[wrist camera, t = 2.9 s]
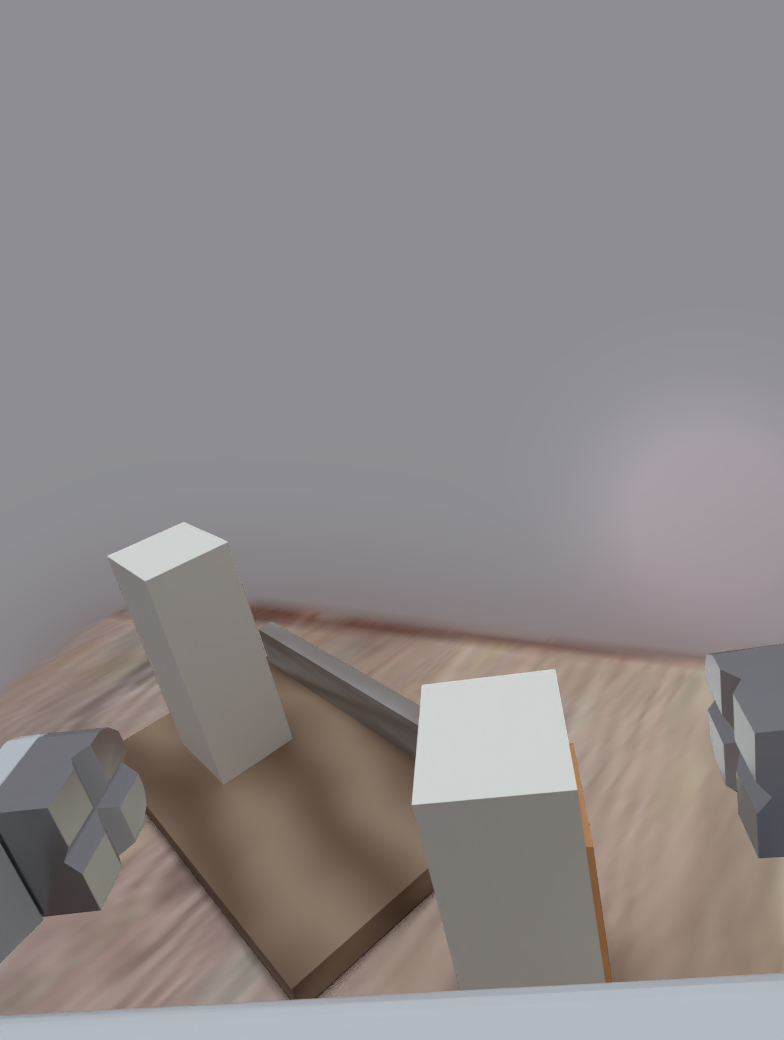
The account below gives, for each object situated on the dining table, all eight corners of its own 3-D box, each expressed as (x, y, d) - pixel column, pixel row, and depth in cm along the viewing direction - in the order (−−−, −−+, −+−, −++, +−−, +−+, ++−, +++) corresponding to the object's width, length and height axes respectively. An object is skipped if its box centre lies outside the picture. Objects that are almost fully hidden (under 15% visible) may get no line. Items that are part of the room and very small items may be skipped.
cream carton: (484, 1082, 28) (411, 805, 23) (481, 936, 34) (421, 684, 28) (626, 1077, 27) (586, 789, 22) (599, 928, 33) (561, 668, 27)
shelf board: (300, 1011, 32) (272, 941, 30) (112, 768, 50) (88, 716, 48) (515, 815, 39) (503, 749, 38) (283, 665, 58) (267, 616, 56)
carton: (223, 784, 44) (145, 581, 39) (182, 743, 49) (106, 556, 43) (295, 736, 47) (232, 539, 41) (250, 701, 51) (187, 520, 46)
